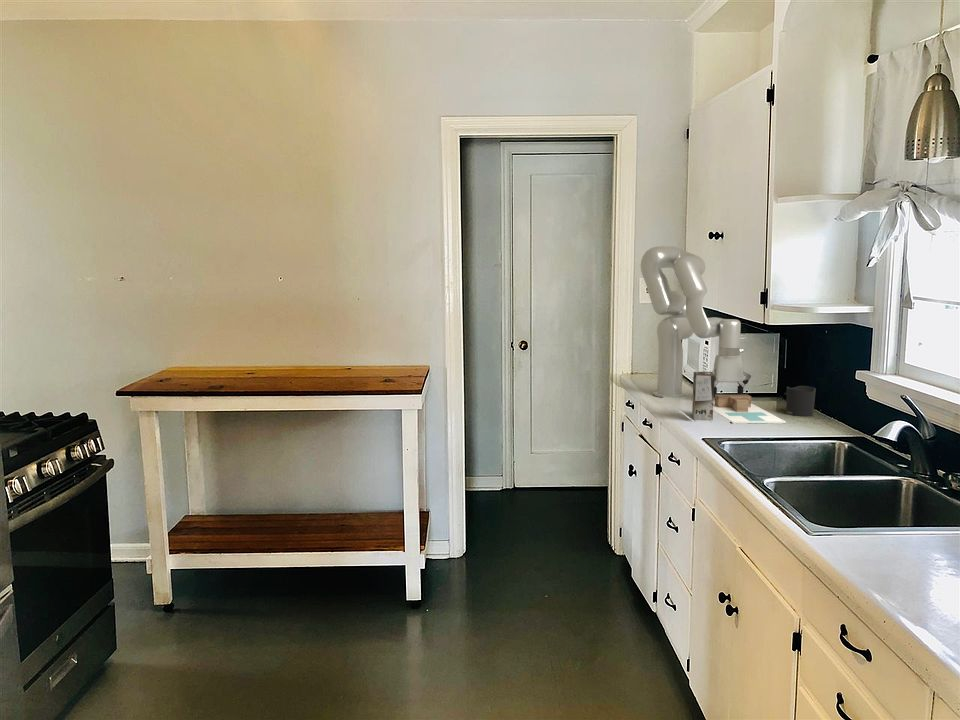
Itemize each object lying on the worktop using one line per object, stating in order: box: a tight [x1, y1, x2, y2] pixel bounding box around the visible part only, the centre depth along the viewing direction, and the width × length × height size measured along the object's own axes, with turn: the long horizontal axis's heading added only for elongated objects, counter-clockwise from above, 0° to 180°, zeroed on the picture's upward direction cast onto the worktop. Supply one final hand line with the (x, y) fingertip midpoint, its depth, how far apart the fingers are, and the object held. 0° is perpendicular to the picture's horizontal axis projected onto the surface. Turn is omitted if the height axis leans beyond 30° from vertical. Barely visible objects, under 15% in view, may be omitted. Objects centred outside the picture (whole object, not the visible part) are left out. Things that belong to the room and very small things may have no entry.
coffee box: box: [691, 371, 715, 422], centre depth 256 cm, size 9×6×16 cm
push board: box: [713, 401, 787, 425], centre depth 267 cm, size 34×18×1 cm, turn 1°
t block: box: [714, 394, 752, 412], centre depth 271 cm, size 12×12×4 cm
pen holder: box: [785, 385, 817, 418], centre depth 261 cm, size 9×9×10 cm
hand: (726, 396), depth 281 cm, fingers open, 9 cm apart
